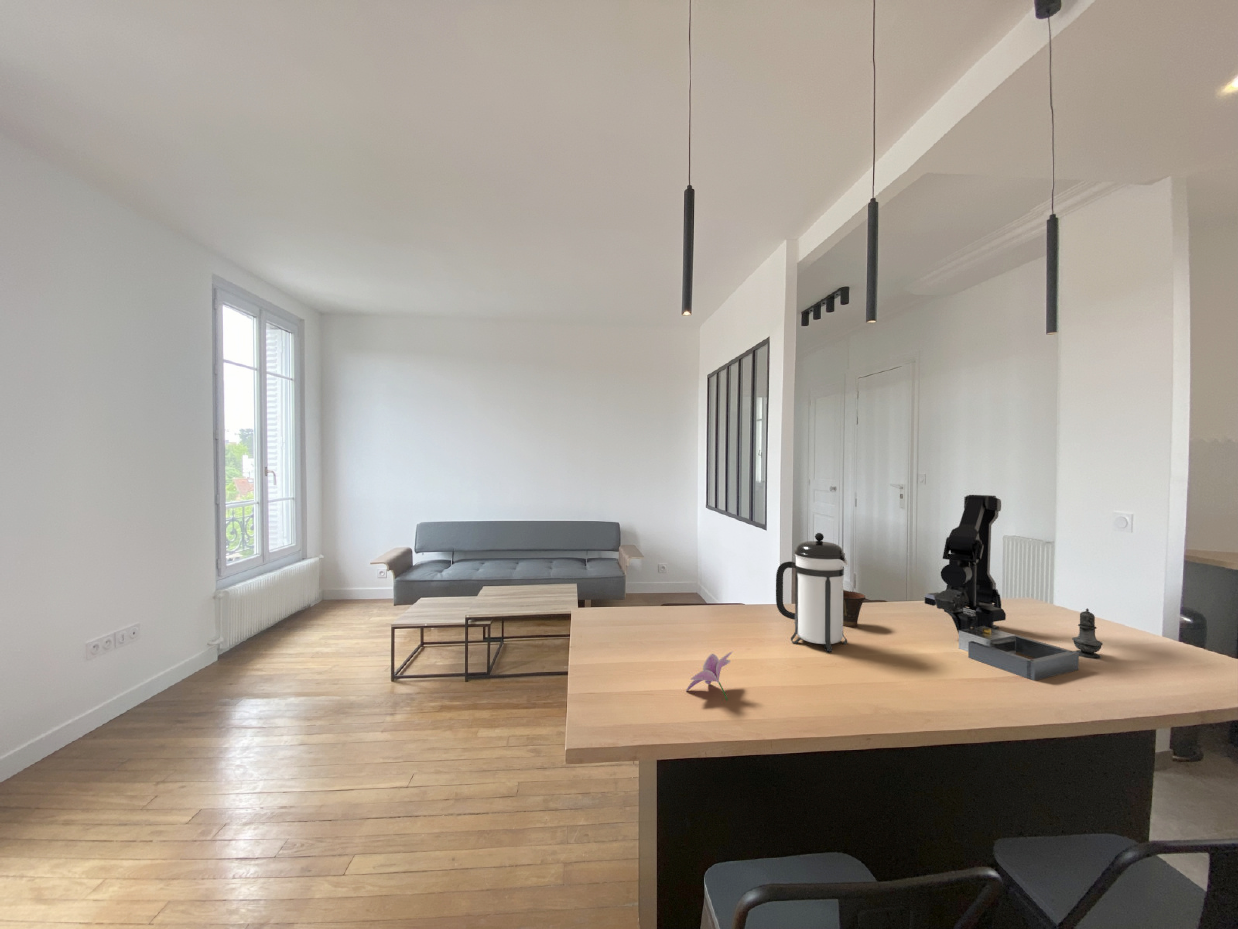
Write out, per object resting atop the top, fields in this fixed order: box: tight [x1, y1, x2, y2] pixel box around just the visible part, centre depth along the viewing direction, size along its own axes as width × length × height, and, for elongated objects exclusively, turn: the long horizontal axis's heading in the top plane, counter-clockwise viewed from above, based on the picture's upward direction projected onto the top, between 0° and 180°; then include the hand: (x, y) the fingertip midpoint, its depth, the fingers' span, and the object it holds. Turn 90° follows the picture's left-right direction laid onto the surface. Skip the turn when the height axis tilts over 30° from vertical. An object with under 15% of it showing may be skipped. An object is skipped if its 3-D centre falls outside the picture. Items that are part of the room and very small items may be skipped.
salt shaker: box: [1071, 608, 1104, 660], centre depth 131 cm, size 6×6×12 cm
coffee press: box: [775, 532, 850, 653], centre depth 139 cm, size 17×16×30 cm
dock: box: [968, 633, 1080, 682], centre depth 125 cm, size 17×15×4 cm
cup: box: [843, 590, 866, 628], centre depth 154 cm, size 9×9×10 cm
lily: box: [685, 651, 733, 701], centre depth 107 cm, size 12×12×10 cm
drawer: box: [958, 626, 1017, 655], centre depth 133 cm, size 10×9×6 cm
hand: (962, 638), depth 138 cm, fingers closed
